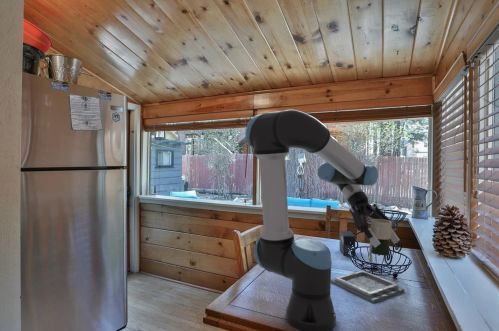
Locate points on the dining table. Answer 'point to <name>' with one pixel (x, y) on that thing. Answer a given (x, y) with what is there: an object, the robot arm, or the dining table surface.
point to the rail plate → (368, 286)
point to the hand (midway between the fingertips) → (387, 243)
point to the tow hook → (370, 252)
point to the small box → (347, 242)
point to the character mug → (381, 235)
